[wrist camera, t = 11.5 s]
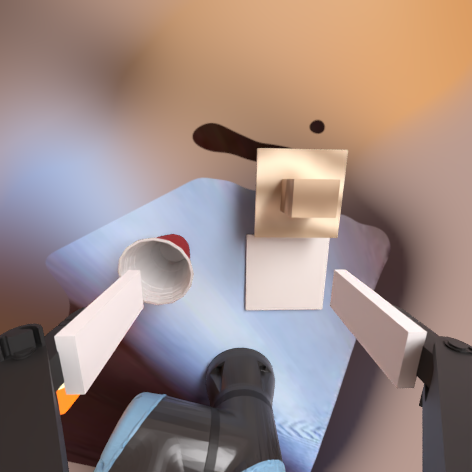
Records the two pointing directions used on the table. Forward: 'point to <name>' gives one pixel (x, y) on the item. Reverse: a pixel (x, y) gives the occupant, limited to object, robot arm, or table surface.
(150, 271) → the plastic cup
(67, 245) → the table surface
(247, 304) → the white square panel
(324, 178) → the birch lid
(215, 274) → the table surface
